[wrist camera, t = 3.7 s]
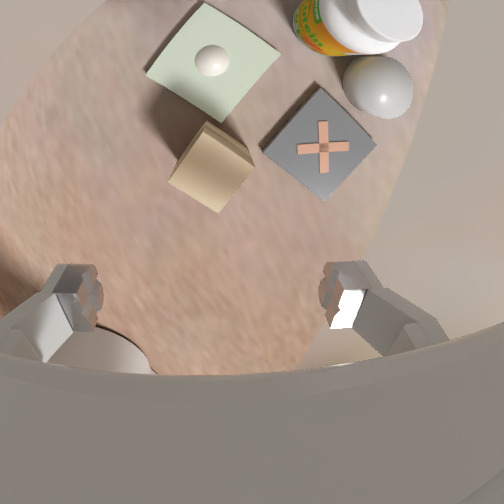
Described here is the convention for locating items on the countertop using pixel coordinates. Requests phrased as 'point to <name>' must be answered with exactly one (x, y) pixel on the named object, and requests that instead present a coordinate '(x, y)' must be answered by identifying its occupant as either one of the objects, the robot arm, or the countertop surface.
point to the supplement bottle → (356, 25)
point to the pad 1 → (212, 62)
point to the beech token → (212, 167)
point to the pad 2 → (320, 145)
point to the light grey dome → (378, 86)
